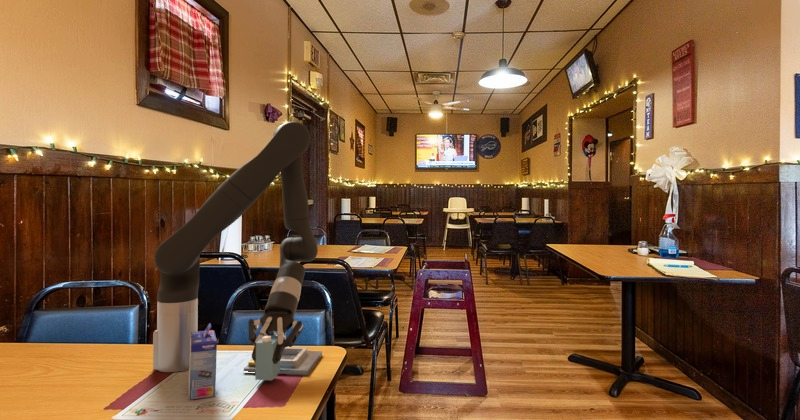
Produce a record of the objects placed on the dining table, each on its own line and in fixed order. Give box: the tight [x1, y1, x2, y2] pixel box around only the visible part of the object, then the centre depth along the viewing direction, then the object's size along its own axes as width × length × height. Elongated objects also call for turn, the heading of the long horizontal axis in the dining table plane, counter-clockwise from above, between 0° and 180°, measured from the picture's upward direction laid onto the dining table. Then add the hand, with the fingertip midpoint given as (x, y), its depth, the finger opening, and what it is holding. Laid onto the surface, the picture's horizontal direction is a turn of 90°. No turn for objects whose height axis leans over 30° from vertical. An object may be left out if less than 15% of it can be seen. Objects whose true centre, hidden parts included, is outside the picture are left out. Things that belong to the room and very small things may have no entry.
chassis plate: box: [243, 346, 323, 377], centre depth 109 cm, size 16×14×3 cm
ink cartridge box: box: [187, 322, 218, 401], centre depth 93 cm, size 10×6×14 cm, turn 27°
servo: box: [254, 336, 280, 381], centre depth 98 cm, size 4×5×10 cm
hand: (265, 361), depth 97 cm, fingers closed on servo, 4 cm apart
